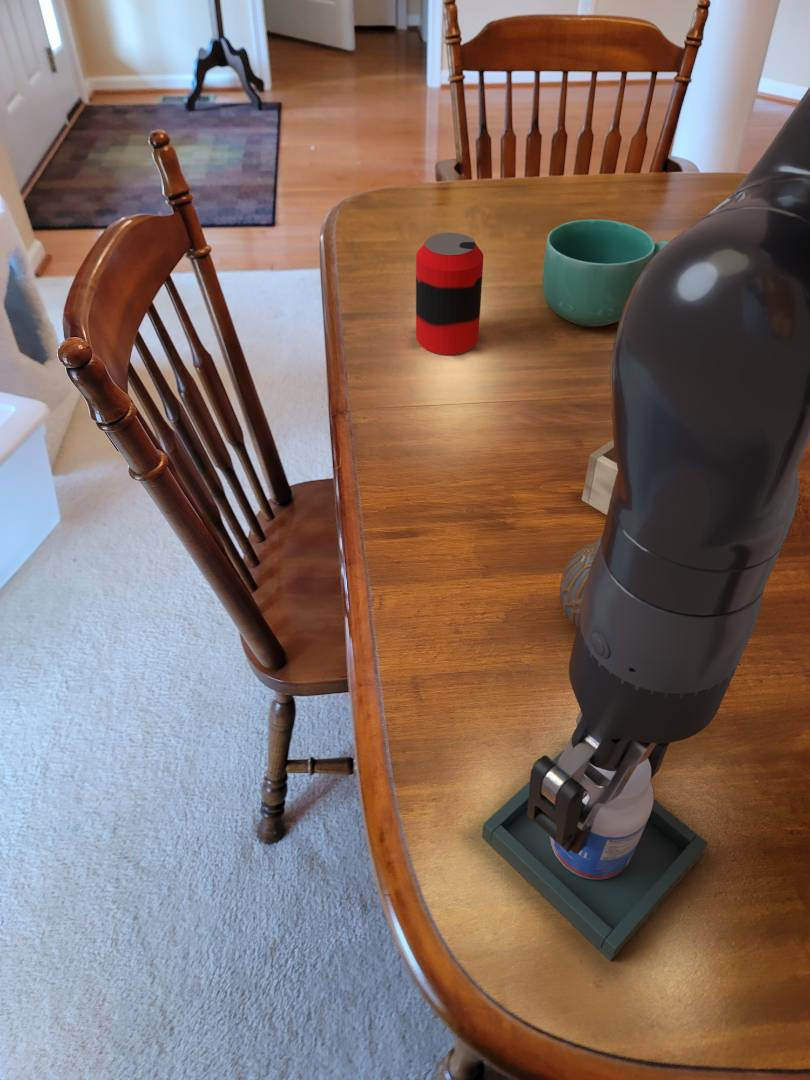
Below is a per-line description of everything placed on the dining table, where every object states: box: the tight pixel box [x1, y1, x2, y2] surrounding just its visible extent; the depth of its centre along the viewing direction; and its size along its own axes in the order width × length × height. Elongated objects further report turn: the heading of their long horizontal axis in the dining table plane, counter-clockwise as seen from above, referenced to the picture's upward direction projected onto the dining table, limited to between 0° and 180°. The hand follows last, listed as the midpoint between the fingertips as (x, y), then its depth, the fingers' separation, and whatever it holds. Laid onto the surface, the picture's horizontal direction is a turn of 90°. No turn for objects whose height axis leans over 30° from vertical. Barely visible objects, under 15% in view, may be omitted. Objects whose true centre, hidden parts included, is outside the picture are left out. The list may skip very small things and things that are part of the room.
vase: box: [559, 534, 603, 629], centre depth 66 cm, size 7×7×9 cm
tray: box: [481, 749, 709, 962], centre depth 54 cm, size 11×10×2 cm
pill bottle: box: [550, 758, 654, 880], centre depth 51 cm, size 6×5×10 cm
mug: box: [542, 218, 671, 328], centre depth 102 cm, size 17×13×10 cm
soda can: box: [415, 232, 484, 356], centre depth 97 cm, size 8×8×12 cm
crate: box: [581, 439, 618, 516], centre depth 77 cm, size 11×11×6 cm
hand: (604, 801), depth 51 cm, fingers open, 6 cm apart
